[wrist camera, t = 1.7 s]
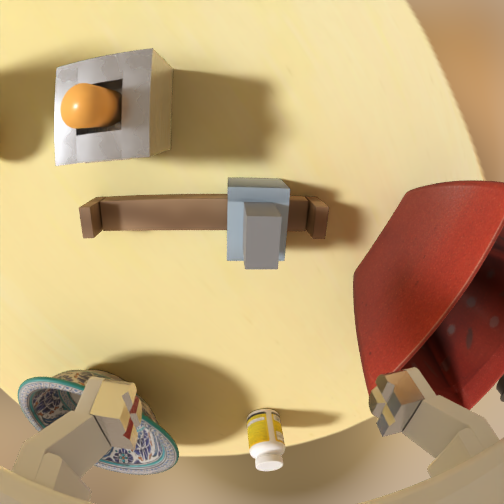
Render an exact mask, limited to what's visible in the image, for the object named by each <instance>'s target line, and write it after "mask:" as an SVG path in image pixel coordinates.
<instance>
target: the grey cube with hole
mask: <svg viewBox="0 0 504 504" xmlns="http://www.w3.org/2000/svg"><path fill="white" fill-rule="evenodd" d="M172 82H173V68H172V67H171V66H170V65H169V64H168V63H167V62H166V61H165V60H164V59H163V58H162V57H161V56H160V55H159V54H158V53H157V52H156V51H155V50H154V49H153V48H152V49H144V50H136V51H129V52H123V53H117V54H112V55H106V56H101V57H96V58H92V59H87V60H83V61H79V62H75V63H71V64H67V65H64V66H60V67H57V71H56V84H55V105H54V140H55V162H56V166H59V165H66V164H74V163H83V162H85V163H91V162H101V161H112V160H124V159H131V158H139V157H151V156H153V155H156V154H159V153H161V152H164V151H167V150H170V149H171V110H172ZM79 83H88V84H92V85H96V86H100V87H104V88H107V89H111V90H115V91H117V92H119V93H120V94H122V115H121V120H120V121H119V122H118V123H116V124H115V125H113V126H110V127H93V128H77V129H76V128H71V127H69V126H67V125H66V124H65V123H64V121H63V120H62V117H61V112H60V108H61V102H62V100H63V97H64V95H65V94H66V92H67V91H68V90H69V89H70V88H71V87H73V86H74V85H77V84H79Z"/></svg>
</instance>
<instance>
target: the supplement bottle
mask: <svg viewBox="0 0 504 504" xmlns="http://www.w3.org/2000/svg"><path fill="white" fill-rule="evenodd" d="M247 430H248V440H249V450H250V454H251V456H252V457H253V458H255V459H256V460H255V464H256V468H257V469H258V470H261V471H272V470H276V469H279V468H281V467H282V466H283V460H282V456H281V455H282V454H283V453H284V451H285V444H284V438H283V433H282V427H281V422H280V417H279V414H278V413H277V412H276V411H275V410H272V409H259V410H256V411H253V412H252V413H250V414H249V415H248V417H247Z"/></svg>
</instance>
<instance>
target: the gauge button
mask: <svg viewBox="0 0 504 504" xmlns="http://www.w3.org/2000/svg"><path fill="white" fill-rule="evenodd" d="M60 112H61V117H62V120H63V121H64V123H65V124H66V125H67V126H69V127H71V128H76V129H77V128H93V127H110V126H113V125H115V124H116V123H118V122H119V121H120V120H121V115H122V94H120V93H119V92H117V91H115V90H111V89H107V88H104V87H100V86H96V85H92V84H88V83H79V84H77V85H74V86H73V87H71V88H70V89H69V90H68V91H67V92H66V94H65V95H64V97H63V100H62V102H61V108H60Z"/></svg>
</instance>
